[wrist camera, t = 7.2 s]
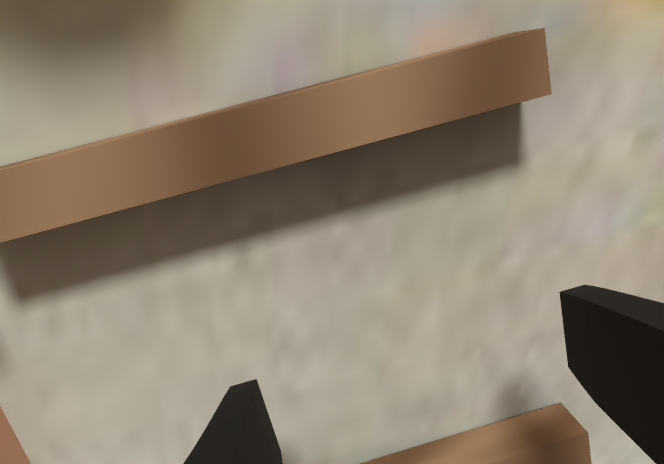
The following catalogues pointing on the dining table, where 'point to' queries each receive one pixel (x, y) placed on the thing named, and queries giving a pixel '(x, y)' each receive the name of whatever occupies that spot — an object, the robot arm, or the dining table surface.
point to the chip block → (10, 444)
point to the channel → (296, 146)
